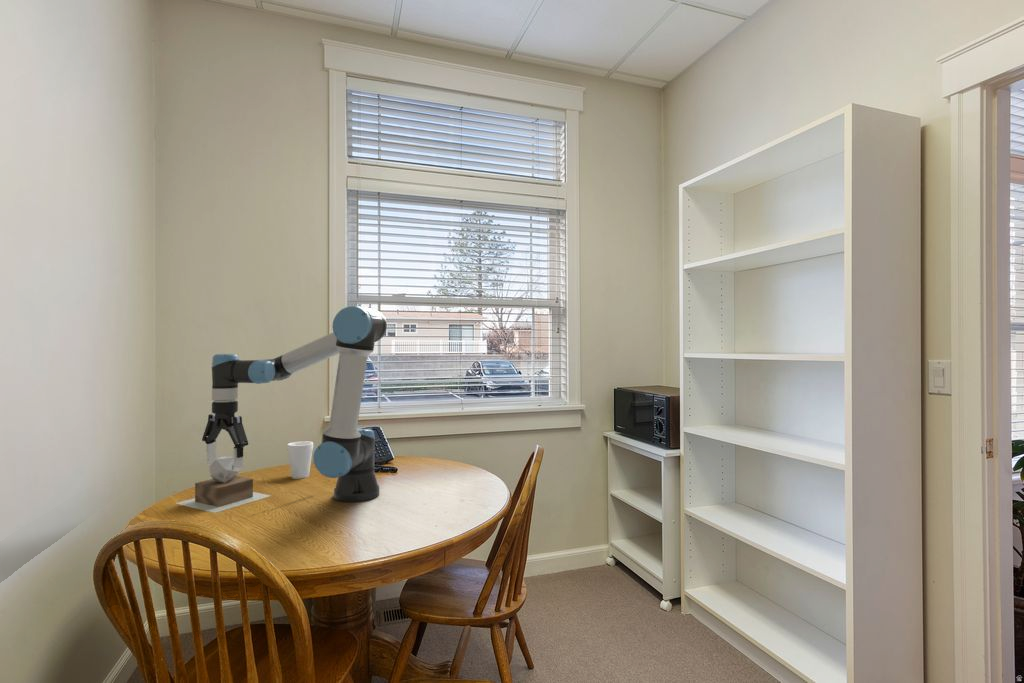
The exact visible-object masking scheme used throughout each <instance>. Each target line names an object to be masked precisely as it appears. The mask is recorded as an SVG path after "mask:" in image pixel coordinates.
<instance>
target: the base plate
mask: <svg viewBox="0 0 1024 683" xmlns="http://www.w3.org/2000/svg"><path fill="white" fill-rule="evenodd" d="M269 497H271V494H266V493H265V494H264V493H259V492H257V491H256V492H255V491H253V497H252V498H248V499H245V500H241V501H238V502H234V503H231V504H228V505H224V506H221V507H216V506H212V505H207V504H203V503H199V502H195V497H193V498H189V499H187V500H186V499H185V500H183V501H182V500H181V501H179V502H175V503H174V504H177V505H180V506H185V507H188V508H192V509H196V510H201V511H203V512H204V511H205V512H210V513H214V514H215V513H218V512H222V511H225V510H228V509H233V508H236V507H238V506H243V505H245V504H249V503H251V502H255V501H258V500H259V501H260V500H262V499H265V498H269Z"/></svg>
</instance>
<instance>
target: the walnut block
mask: <svg viewBox="0 0 1024 683" xmlns="http://www.w3.org/2000/svg"><path fill="white" fill-rule="evenodd" d="M194 486H195V487H194V491H195V492H194V498H195V502H199V503H203V504H207V505H212V506H216V507H221V506H224V505H228V504H231V503H234V502H238V501H241V500H245V499H248V498H252V497H253V492H254V479H252V478H249V477H243V476H239V475H238V476H237V475H236V476H235V477H234V478H233V479H231V480H229V481H228V482H226V483H223V482H217V481H214V479H213V478H211V479H207V480H203V481H199V482H195V483H194Z"/></svg>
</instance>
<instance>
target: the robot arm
mask: <svg viewBox="0 0 1024 683" xmlns="http://www.w3.org/2000/svg"><path fill="white" fill-rule="evenodd" d="M331 327H332V332H331V333H328V334H326V335H323V336H322V337H319V338H317V339H315V340H312V341H311V342H308V343H306V344H304V345H302V346H300V347H298V348H295V349H292V350H290V351H288V352H286V353H283V354H281V355H279V356H276V357H275V358H270V359H253V360H250V359H247V360H241V359H239V356H238V354H236V353H218V354H217V353H216V354H214V355H213V356H212V363H211V378H212V379H211V381H212V386H211V400H212V401H213V402H212V403H211V413H212V414H211V413H210V414H208V416H207V417H208V418H207V423H206V426H205V429H204V432H203V435H202V438H201V439H202V440H201V441H202V442H205V444H206V464H207V465H211V464H212V463H213V462H214V461H215V460H216V459H217V438H218V437H219V435H220V434H221V431H222V430H225V432H227V433H228V435H229V437H230V439H231V441H232V443H233V444H234V447H233V457H232V458H233V468H238V469H239V468H243V465H244V464H243V463H244V461H243V460H244V448H245V446H248V445H249V440H248V437H247V434H246V430H245V427H244V424H243V416H241V415H240V416H235V413H238V410H239V406H238V405H239V402H238V400H239V399H238V396H239V393H238V391H239V389H238V387H239V384H243V383H244V384H269V383H270V382H274V381H283V380H286V379H288V378H290V377H291V376H292V375H293V374H295V373H297V372H299V371H302V370H304V369H307V368H309V367H311V366H314V365H316V364H319V363H320V362H323V361H326V360H327V359H330V358H331V357H335V356H337V355H339V356H338V363H337V369H336V376H335V383H334V384H335V385H334V390H333V391H334V392H333V398H332V402H331V410H330V411H331V412H330V417H329V422H328V427H327V428H326V429H324V430H323V432H322V438H321V443H320V444H319V445H318V446H317V447H316V449H315V450H314V452H313V454H312V457H313V458H312V459H313V464H314V468H316V470H317V471H318V472H319V474H321V476H324V477H326V478H329V479H337V481H336V484H335V488H334V489H333V498H334V500H336V501H338V502H343V503H344V502H345V503H347V502H349V503H351V502H352V503H353V502H354V503H355V502H364V501H369V500H373V499H375V498H377V497H378V496H379V495H380V485H379V483H378V481H377V477H376V473H375V452H376V451H375V447H376V446H375V444H376V438H375V431H374V430H373V429H369V428H358V423H359V417H360V410H361V404H362V397H363V396H362V395H363V391H364V390H363V389H364V384H365V377H366V369H367V363H368V357H369V355H371V354H372V353H373V352H374V351H375V350H374V349H375V343H376V342H378V341H380V340H381V339H383V337H384V336H385V335H386V332H387V329H388V322H387V319H386V317H385V316H384V315H383V314H382V312H380V311H379V310H377V309H374V308H369V307H364V306H359V305H352V306H351V305H349V306H346V307H344V308H341V309H340V310H339V311H338V312H337V313H336V315H335V316H334V318H333V321H332V326H331Z"/></svg>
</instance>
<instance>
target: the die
mask: <svg viewBox="0 0 1024 683" xmlns="http://www.w3.org/2000/svg"><path fill="white" fill-rule="evenodd" d="M209 465H210V466H208V467H209V475H210V477H211V479H214V481H217V482H223V483H226V482H228V481H229V480H231V479H233V478H234V477H235V476H237V474H238V473H239V472H240V471H239V468H233V457H232V456H225V455H224V456H220V457H218V458H216V460H215V461H214V462H213V463H210V464H209Z"/></svg>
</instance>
